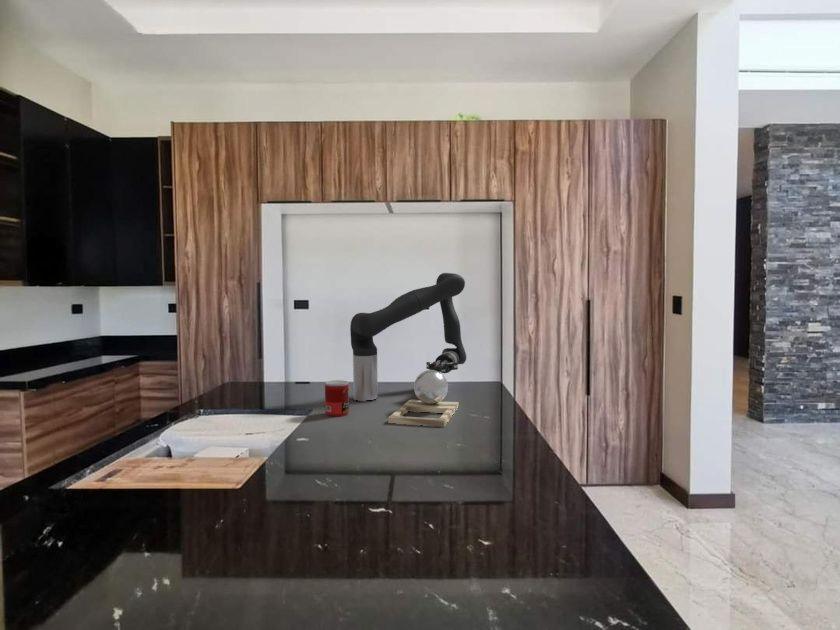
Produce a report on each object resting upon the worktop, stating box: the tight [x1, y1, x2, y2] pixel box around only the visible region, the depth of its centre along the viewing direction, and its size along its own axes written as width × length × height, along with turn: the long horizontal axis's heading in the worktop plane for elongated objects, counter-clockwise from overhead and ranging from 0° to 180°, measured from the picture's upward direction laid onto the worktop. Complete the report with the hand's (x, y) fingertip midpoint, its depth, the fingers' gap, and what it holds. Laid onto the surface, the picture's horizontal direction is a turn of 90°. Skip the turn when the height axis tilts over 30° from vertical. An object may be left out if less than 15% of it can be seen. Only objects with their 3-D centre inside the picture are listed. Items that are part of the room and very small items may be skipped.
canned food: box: [324, 379, 350, 418], centre depth 176 cm, size 8×8×11 cm
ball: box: [413, 369, 449, 404], centre depth 182 cm, size 12×12×12 cm
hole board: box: [387, 399, 460, 428], centre depth 174 cm, size 26×18×2 cm
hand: (437, 369), depth 190 cm, fingers closed
